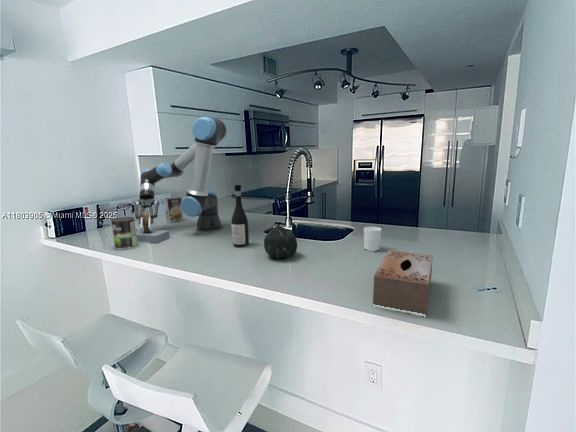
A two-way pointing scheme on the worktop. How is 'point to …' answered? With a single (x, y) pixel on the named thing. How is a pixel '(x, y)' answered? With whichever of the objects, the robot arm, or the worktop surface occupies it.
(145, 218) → the dowel
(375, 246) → the white cup
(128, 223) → the coffee can
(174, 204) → the coffee box
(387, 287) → the tissue box cover
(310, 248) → the worktop surface
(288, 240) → the squash
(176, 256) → the worktop surface
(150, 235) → the socket board
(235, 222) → the wine bottle
